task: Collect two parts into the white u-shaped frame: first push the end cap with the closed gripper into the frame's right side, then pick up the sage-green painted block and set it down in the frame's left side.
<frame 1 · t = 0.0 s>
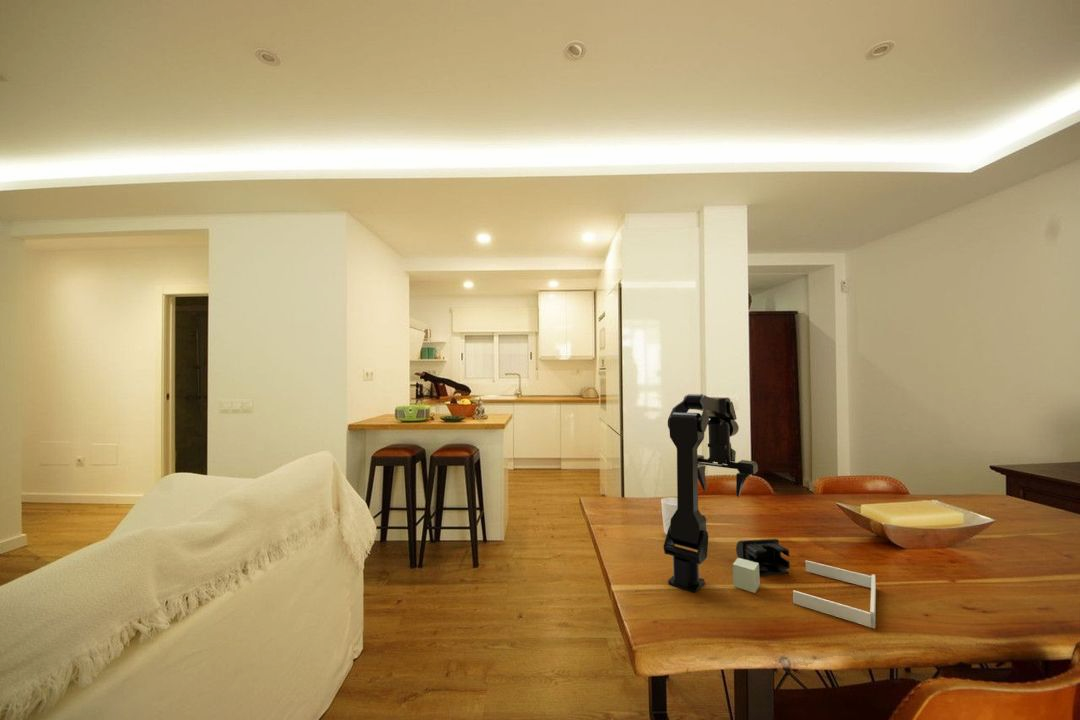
hand: (721, 493, 113), 15 cm above the table, tool pointing down, fingers open, 9 cm apart
block: (746, 585, 90), on the table
white u-shaped frame: (836, 595, 85), on the table
white cup: (675, 534, 121), on the table
end cap: (763, 569, 98), on the table
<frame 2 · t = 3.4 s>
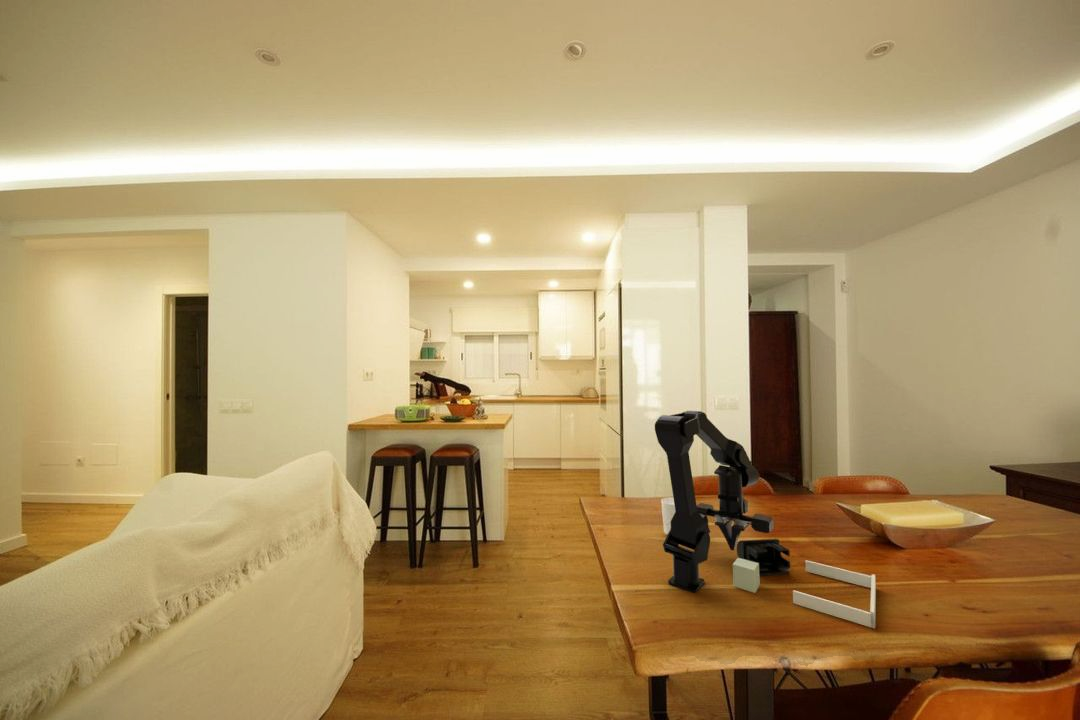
hand: (732, 549, 103), 3 cm above the table, tool pointing down, fingers closed
end cap: (763, 569, 98), on the table, touching gripper
everything else where it was.
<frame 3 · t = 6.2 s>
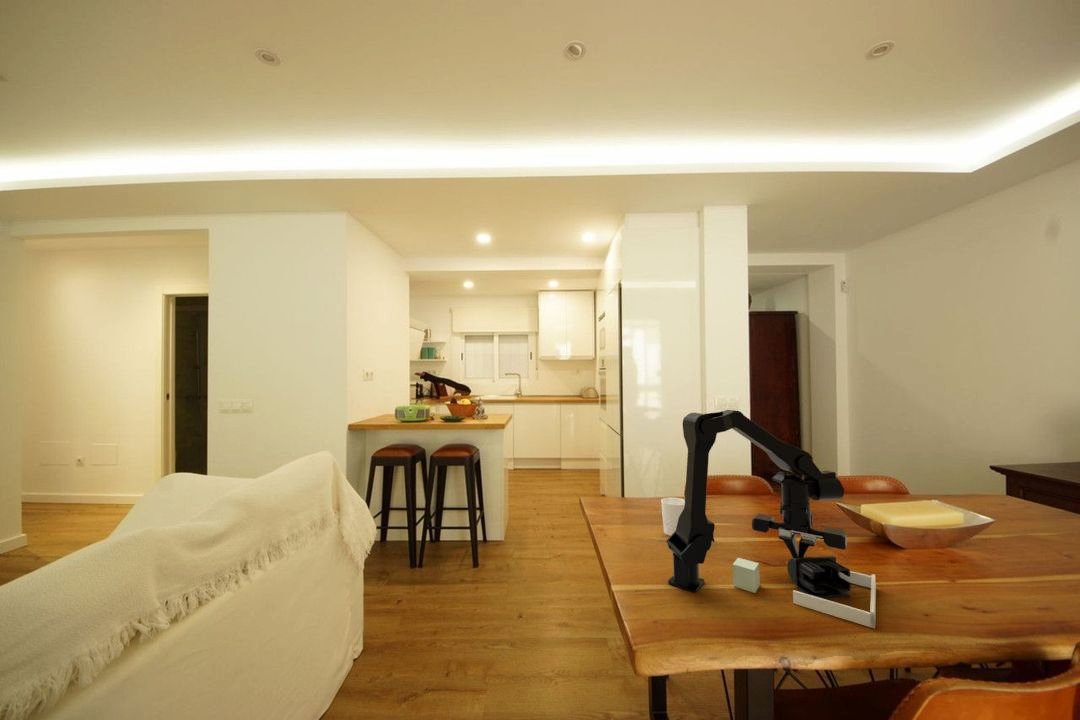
hand: (798, 566, 93), 3 cm above the table, tool pointing down, fingers closed
end cap: (819, 590, 88), on the table, touching gripper
everything else where it was.
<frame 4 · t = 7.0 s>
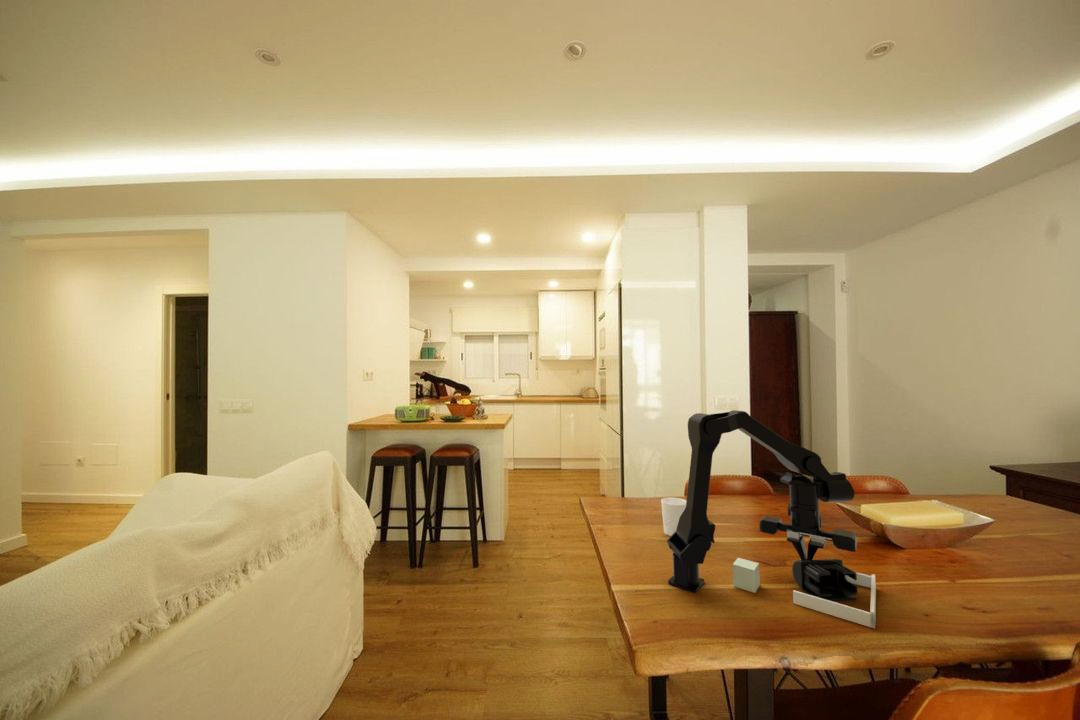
hand: (807, 568, 92), 3 cm above the table, tool pointing down, fingers closed
end cap: (825, 594, 86), on the table, touching gripper
everything else where it was.
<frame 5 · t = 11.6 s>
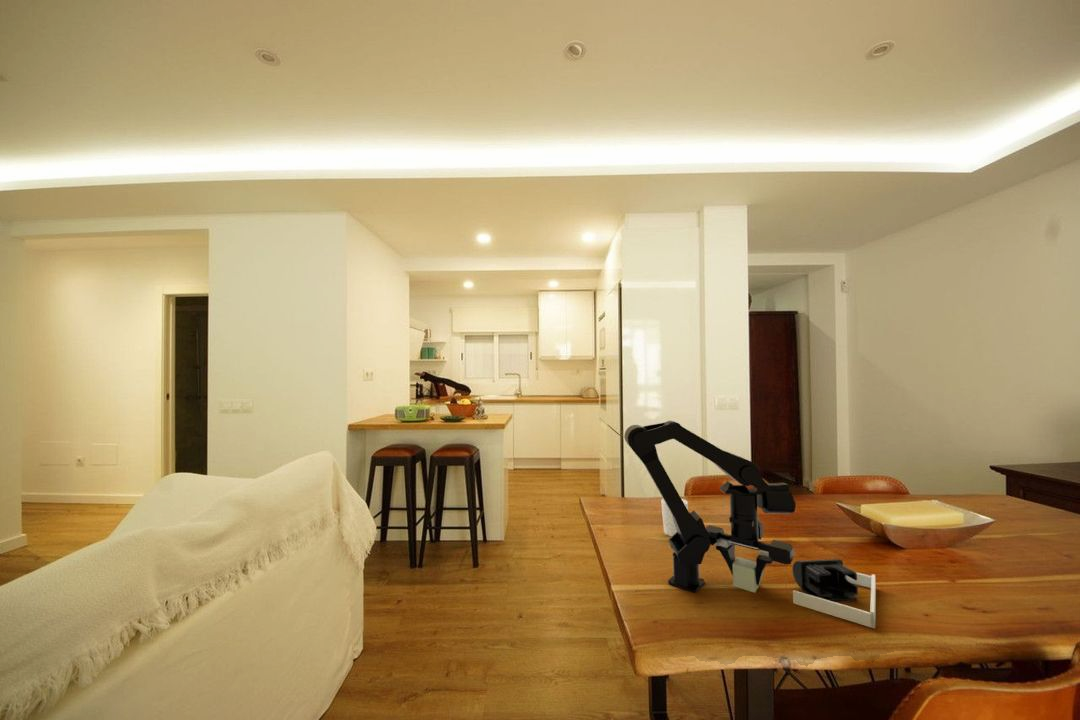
hand: (746, 580, 90), 1 cm above the table, tool pointing down, fingers closed on block, 4 cm apart
block: (746, 585, 90), on the table, touching gripper
end cap: (825, 594, 86), on the table
everything else where it was.
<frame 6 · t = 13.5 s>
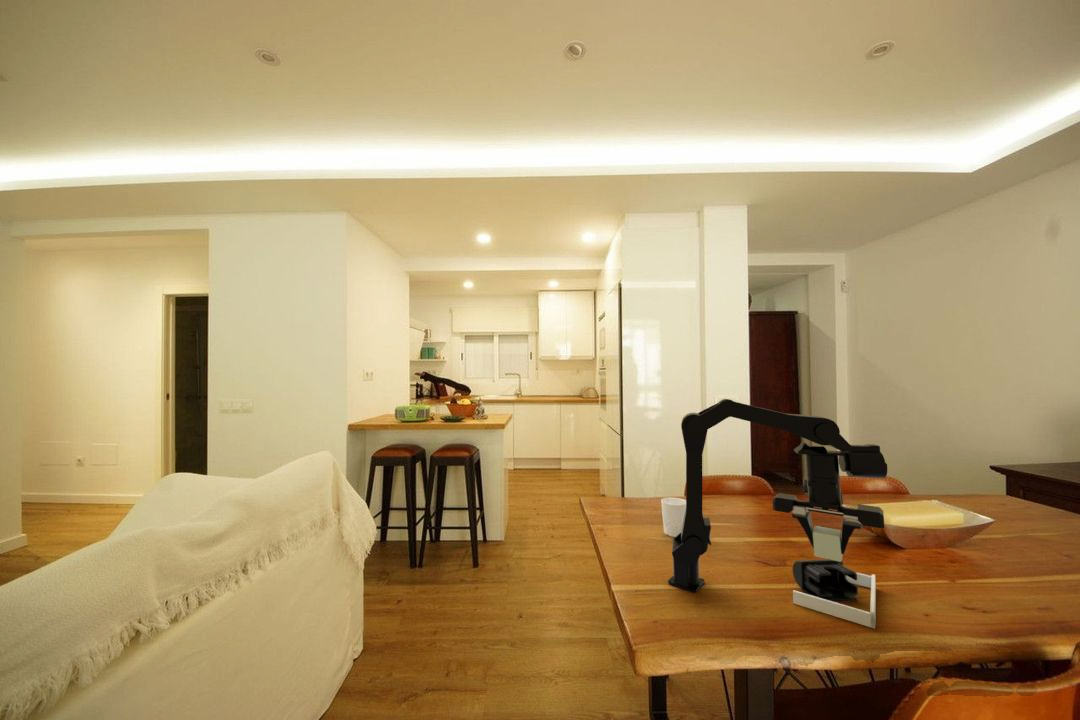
hand: (828, 550, 82), 11 cm above the table, tool pointing down, fingers closed on block, 4 cm apart
block: (828, 555, 82), point 10 cm above the table, touching gripper
everything else where it was.
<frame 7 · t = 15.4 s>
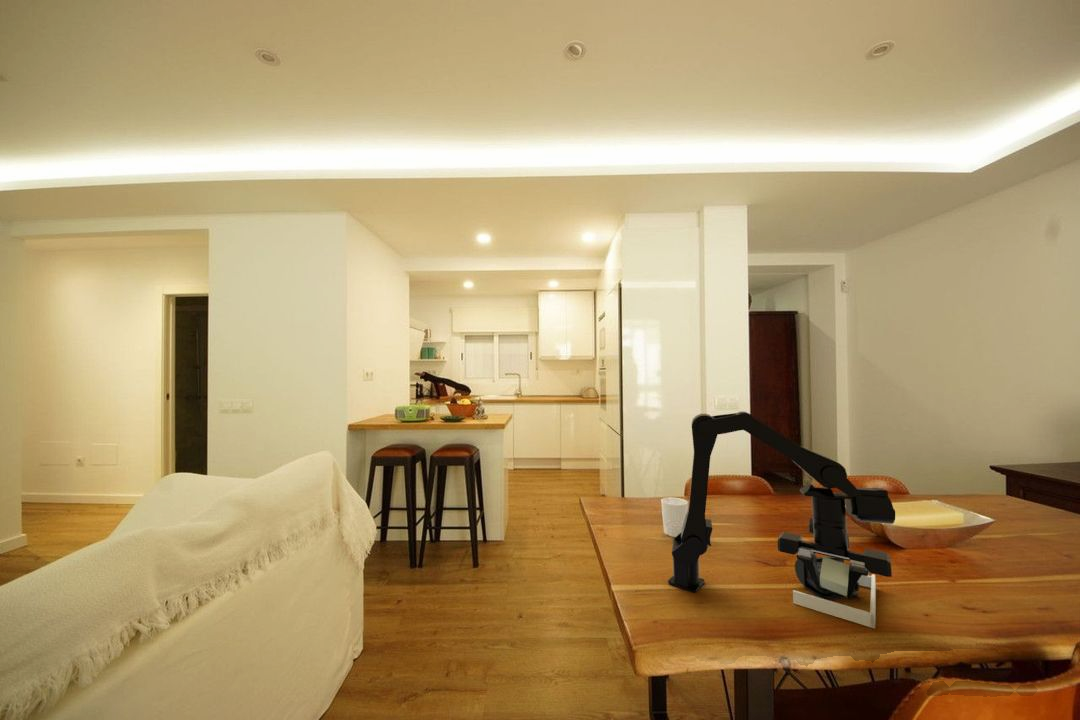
hand: (833, 594, 81), 3 cm above the table, tool pointing down, fingers closed on block, 4 cm apart
block: (834, 580, 82), point 5 cm above the table, tilted 47°, touching end cap, gripper
end cap: (827, 590, 88), on the table, touching block
everything else where it was.
when the fingers open (3 cm above the table, at t = 15.5 s): block drops 3 cm and tips over, resting on white u-shaped frame.
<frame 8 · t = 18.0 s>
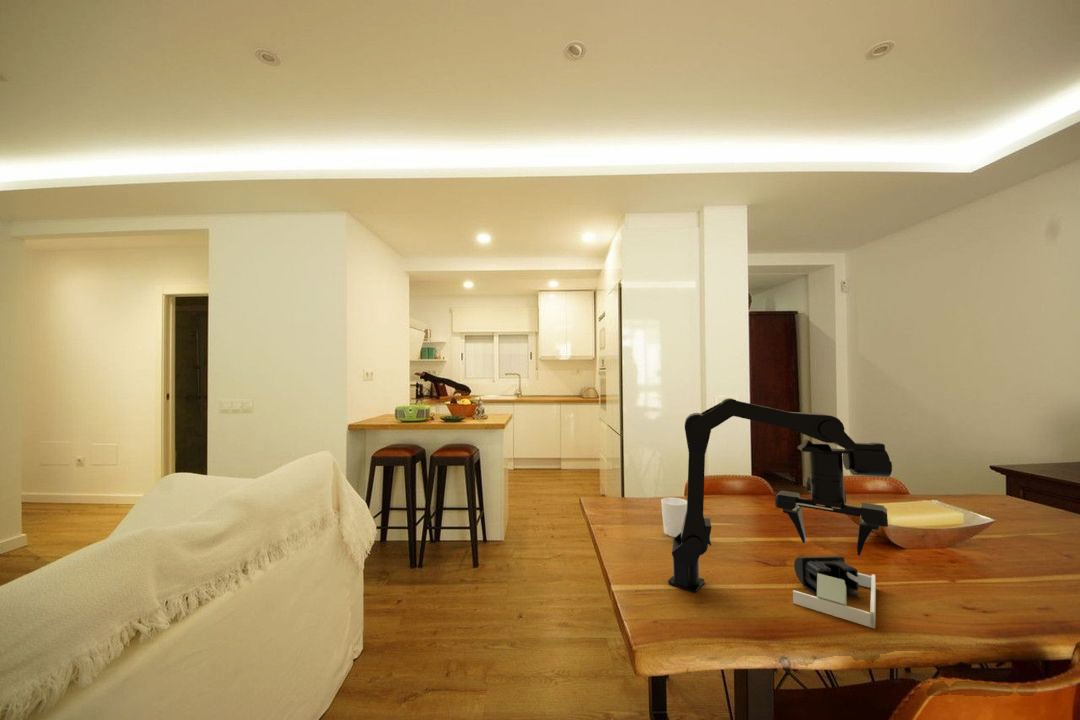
hand: (830, 548, 81), 12 cm above the table, tool pointing down, fingers open, 9 cm apart
block: (832, 595, 82), point 2 cm above the table, tilted 53°, touching white u-shaped frame
end cap: (826, 590, 88), on the table
everything else where it was.
at the end: end cap inside the target area on the white u-shaped frame (2.7 cm from its centre), point 0.0 cm above the white u-shaped frame's base; block inside the target area on the white u-shaped frame (4.3 cm from its centre), point 1.8 cm above the white u-shaped frame's base; the gripper is holding nothing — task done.
